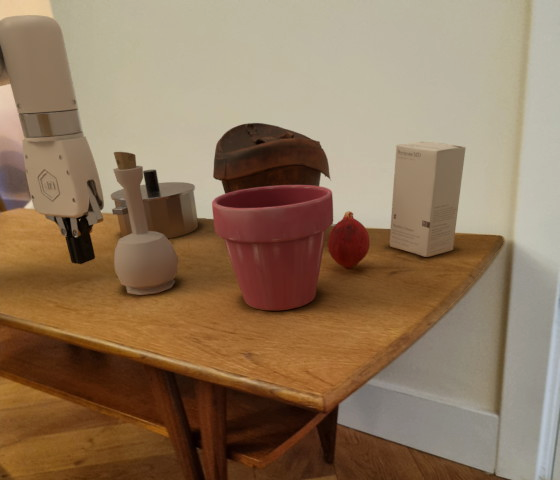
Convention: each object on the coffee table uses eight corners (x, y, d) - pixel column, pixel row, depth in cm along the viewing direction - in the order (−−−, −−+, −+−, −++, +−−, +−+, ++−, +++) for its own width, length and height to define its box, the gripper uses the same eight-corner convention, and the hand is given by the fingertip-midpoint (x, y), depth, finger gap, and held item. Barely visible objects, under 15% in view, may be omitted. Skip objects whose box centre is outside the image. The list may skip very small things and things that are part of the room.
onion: (368, 275, 75) (369, 216, 71) (326, 276, 76) (324, 217, 72) (370, 262, 80) (370, 206, 76) (330, 262, 81) (329, 207, 77)
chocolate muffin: (304, 259, 83) (297, 131, 75) (199, 249, 93) (182, 134, 84) (351, 229, 97) (350, 117, 88) (255, 223, 106) (245, 121, 97)
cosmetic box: (388, 247, 86) (391, 145, 79) (416, 239, 88) (421, 139, 81) (429, 259, 79) (435, 148, 72) (457, 250, 82) (467, 142, 75)
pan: (95, 241, 102) (85, 203, 99) (164, 216, 117) (158, 181, 114) (155, 247, 96) (147, 206, 92) (220, 219, 111) (216, 183, 107)
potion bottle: (106, 295, 76) (73, 156, 67) (143, 274, 83) (117, 146, 74) (159, 300, 73) (131, 155, 64) (193, 277, 80) (172, 144, 71)
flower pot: (262, 274, 79) (254, 181, 73) (353, 285, 72) (352, 184, 66) (202, 310, 68) (186, 205, 62) (301, 327, 62) (294, 211, 56)
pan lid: (93, 203, 101) (87, 177, 99) (150, 187, 113) (145, 163, 111) (159, 207, 94) (154, 179, 92) (211, 188, 106) (208, 163, 104)
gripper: (-9, 130, 74) (29, 263, 83) (69, 129, 67) (101, 274, 76) (37, 124, 79) (68, 249, 88) (113, 123, 73) (138, 259, 81)
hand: (83, 260), depth 82 cm, fingers closed
